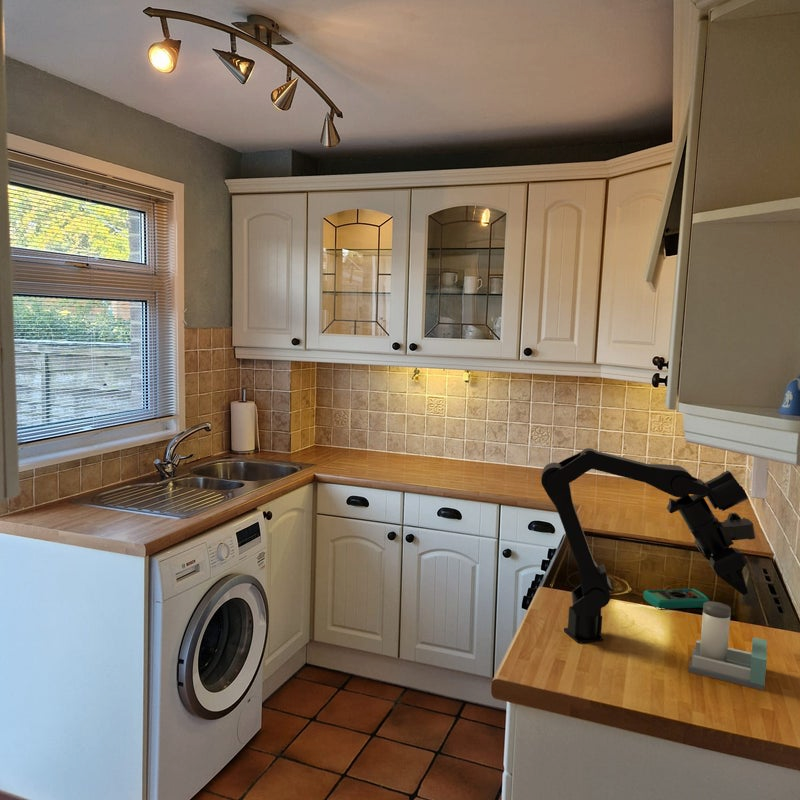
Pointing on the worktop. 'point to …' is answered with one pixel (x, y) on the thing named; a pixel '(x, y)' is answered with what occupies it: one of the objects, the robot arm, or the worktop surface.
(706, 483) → the robot arm
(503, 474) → the worktop surface
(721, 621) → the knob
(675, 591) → the digital multimeter
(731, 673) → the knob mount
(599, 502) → the worktop surface
